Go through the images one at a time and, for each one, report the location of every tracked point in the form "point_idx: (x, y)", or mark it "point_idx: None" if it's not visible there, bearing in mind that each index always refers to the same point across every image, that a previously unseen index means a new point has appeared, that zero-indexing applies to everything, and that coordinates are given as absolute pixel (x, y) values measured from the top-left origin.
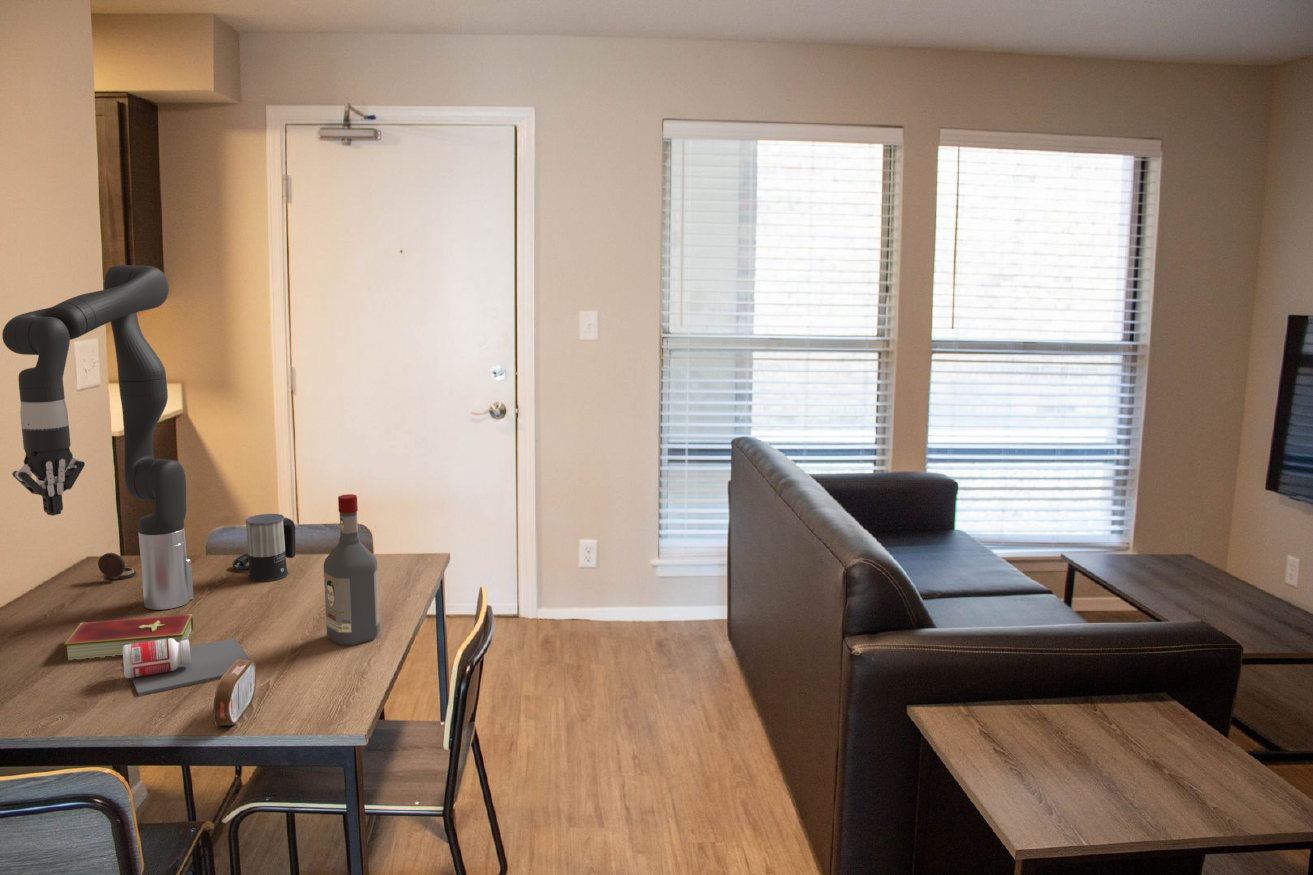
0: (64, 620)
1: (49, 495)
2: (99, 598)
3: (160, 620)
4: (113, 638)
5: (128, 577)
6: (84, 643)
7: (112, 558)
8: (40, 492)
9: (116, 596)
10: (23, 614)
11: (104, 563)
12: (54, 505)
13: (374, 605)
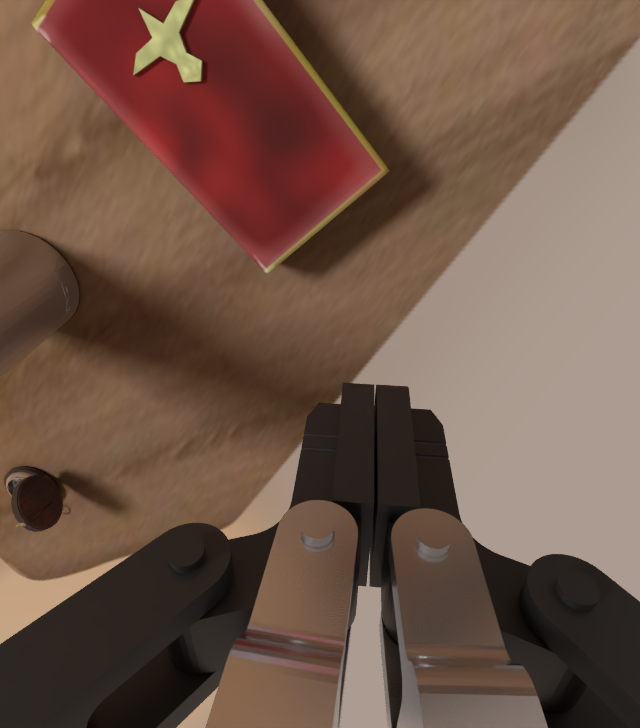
0: (229, 384)
1: (459, 525)
2: (120, 425)
3: (127, 75)
4: (294, 70)
5: (28, 467)
6: (356, 125)
7: (28, 509)
8: (594, 592)
9: (91, 408)
10: (255, 469)
11: (47, 513)
12: (400, 433)
13: None
